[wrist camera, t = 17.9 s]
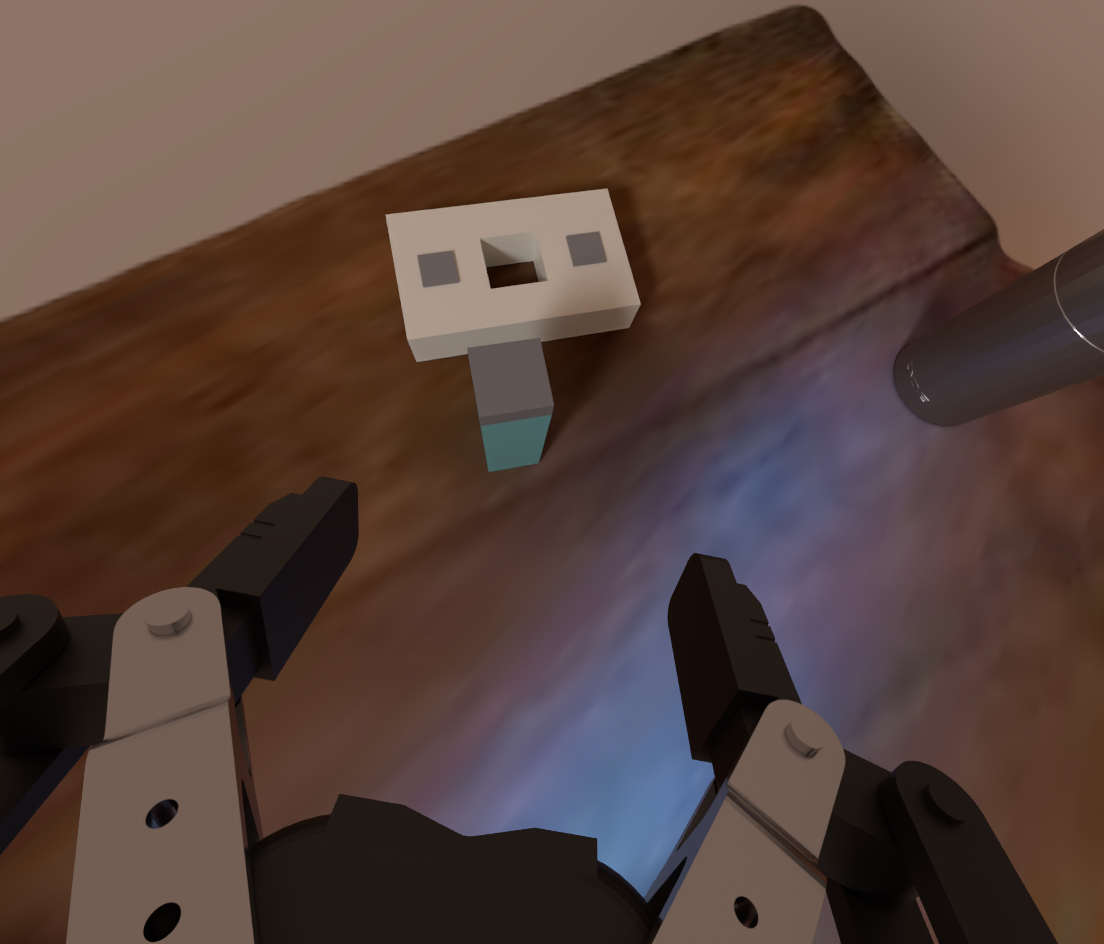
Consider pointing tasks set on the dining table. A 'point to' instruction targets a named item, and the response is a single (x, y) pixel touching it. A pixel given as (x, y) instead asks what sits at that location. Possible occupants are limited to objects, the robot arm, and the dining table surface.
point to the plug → (512, 401)
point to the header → (506, 238)
